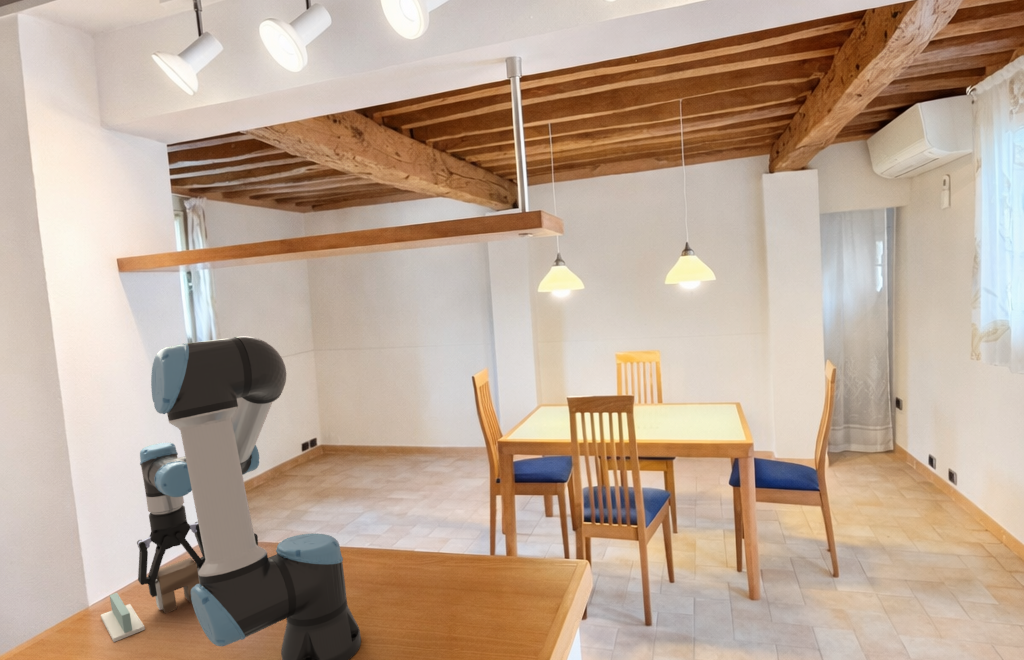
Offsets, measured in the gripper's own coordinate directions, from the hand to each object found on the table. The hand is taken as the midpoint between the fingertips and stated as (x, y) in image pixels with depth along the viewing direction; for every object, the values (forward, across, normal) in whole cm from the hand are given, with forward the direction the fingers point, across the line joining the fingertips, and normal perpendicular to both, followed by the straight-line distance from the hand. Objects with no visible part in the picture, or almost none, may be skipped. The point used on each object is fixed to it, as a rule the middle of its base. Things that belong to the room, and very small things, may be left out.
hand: (180, 599), depth 148 cm
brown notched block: (+1, 0, 0) cm, 1 cm away
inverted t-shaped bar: (+1, +12, -1) cm, 12 cm away
